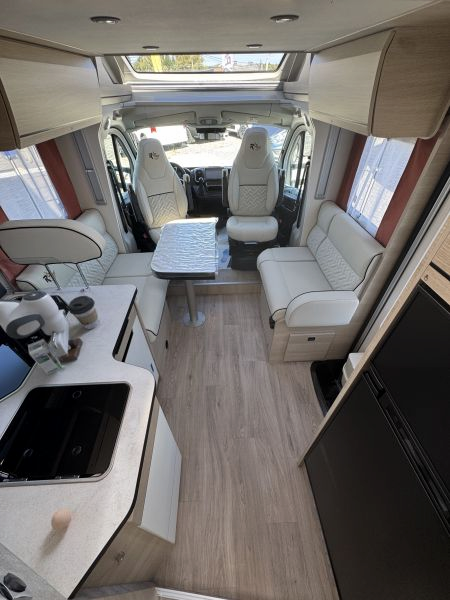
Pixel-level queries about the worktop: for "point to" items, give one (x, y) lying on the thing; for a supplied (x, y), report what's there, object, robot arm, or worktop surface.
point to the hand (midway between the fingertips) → (69, 345)
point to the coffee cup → (84, 311)
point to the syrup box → (44, 356)
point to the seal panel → (73, 351)
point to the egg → (61, 519)
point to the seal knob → (72, 343)
